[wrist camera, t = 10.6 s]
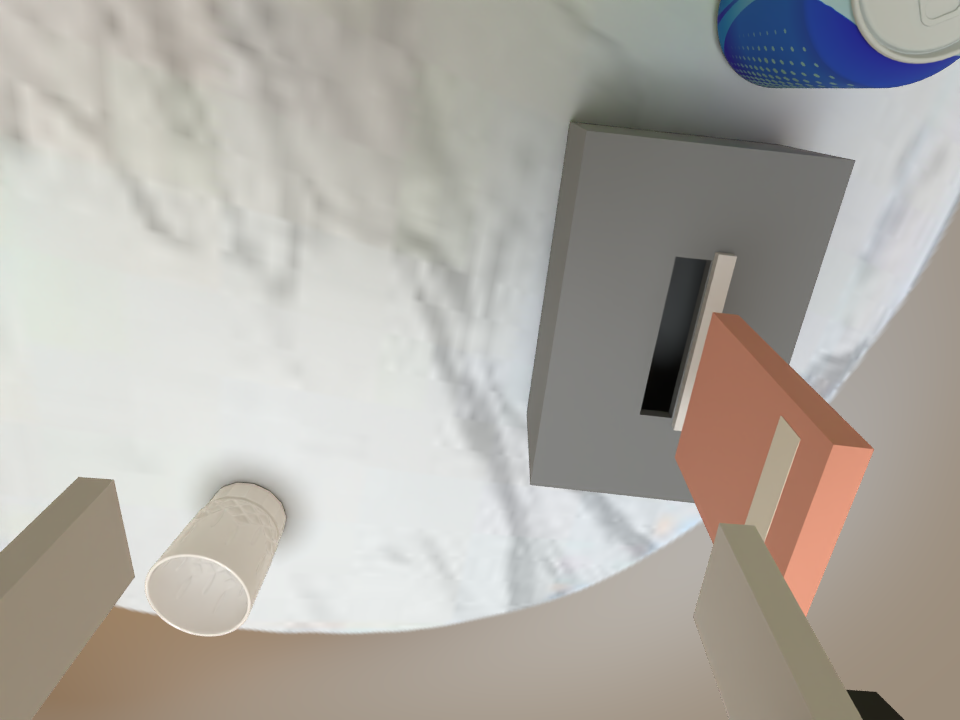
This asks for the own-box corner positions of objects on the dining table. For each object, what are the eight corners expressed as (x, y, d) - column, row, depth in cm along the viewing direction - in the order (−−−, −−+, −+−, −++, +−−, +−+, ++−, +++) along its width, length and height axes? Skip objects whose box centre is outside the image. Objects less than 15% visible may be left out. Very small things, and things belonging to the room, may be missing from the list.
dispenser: (569, 121, 42) (587, 131, 32) (779, 144, 42) (861, 161, 32) (526, 413, 51) (530, 490, 41) (700, 432, 51) (745, 513, 41)
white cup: (307, 500, 55) (266, 583, 46) (273, 562, 58) (229, 651, 49) (222, 461, 54) (163, 537, 45) (192, 525, 57) (131, 610, 47)
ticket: (712, 311, 30) (832, 444, 18) (738, 315, 30) (874, 449, 19) (674, 457, 33) (757, 644, 22) (698, 460, 33) (793, 648, 22)
